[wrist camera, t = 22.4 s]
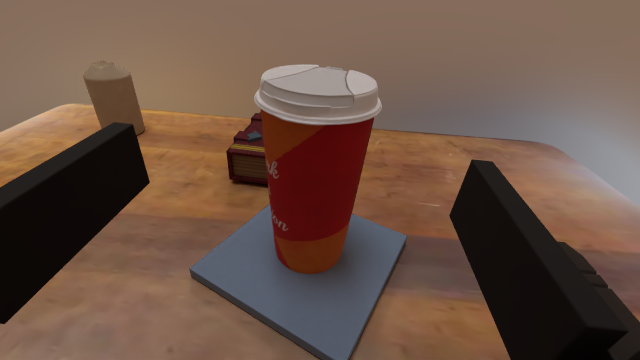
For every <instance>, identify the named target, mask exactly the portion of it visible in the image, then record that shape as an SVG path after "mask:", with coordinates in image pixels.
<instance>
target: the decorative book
mask: <svg viewBox="0 0 640 360" xmlns="http://www.w3.org/2000/svg"><path fill="white" fill-rule="evenodd" d="M227 160H228V169H229V178H230V179H232V180H239V181H247V182H254V183H262V184H268V178H267V168H266V158H265V148H264V138H263V128H262V118H261V112H260V113H256V114H254V116H253V117H252V118H251V124H250V125H249V126H248V127H247V128H246V129H245V130H244V131H239V132H238V133H237V134H236V136H235V137H234V143H233V144H232V145H231V147H230V148H229V149H228V150H227Z"/></svg>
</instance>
